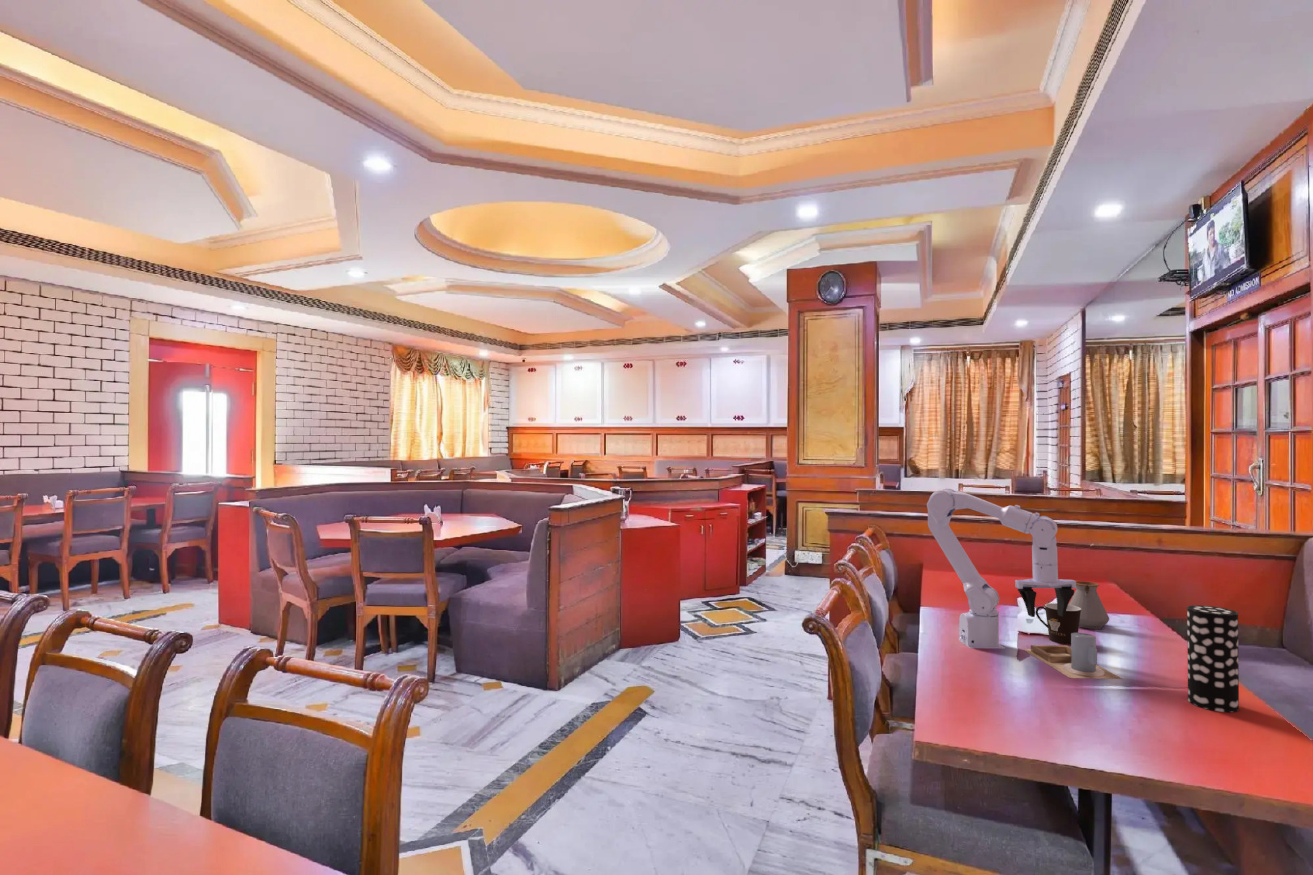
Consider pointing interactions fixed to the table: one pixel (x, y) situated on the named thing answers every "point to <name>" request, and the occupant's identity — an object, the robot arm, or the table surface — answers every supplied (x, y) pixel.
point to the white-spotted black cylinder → (1213, 658)
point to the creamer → (1083, 652)
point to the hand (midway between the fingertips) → (1046, 615)
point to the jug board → (1065, 662)
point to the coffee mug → (1061, 622)
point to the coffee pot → (1089, 605)
